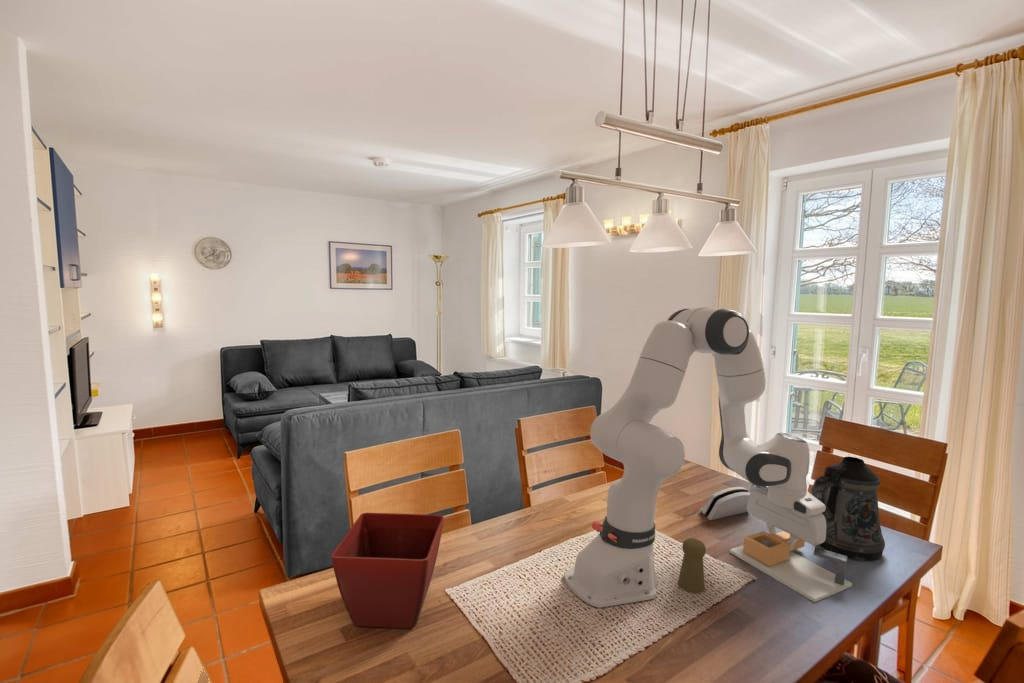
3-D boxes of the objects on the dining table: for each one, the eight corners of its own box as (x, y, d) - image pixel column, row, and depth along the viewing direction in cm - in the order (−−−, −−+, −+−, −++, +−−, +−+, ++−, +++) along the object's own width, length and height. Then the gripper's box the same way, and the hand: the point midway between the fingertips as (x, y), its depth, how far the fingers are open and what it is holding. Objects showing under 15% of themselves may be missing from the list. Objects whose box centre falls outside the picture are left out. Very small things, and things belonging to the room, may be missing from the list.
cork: (672, 580, 119) (675, 537, 118) (691, 575, 121) (695, 533, 120) (690, 595, 113) (693, 550, 112) (710, 589, 116) (714, 545, 115)
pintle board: (814, 602, 112) (816, 581, 112) (729, 552, 133) (731, 534, 132) (851, 586, 119) (854, 566, 118) (765, 540, 139) (766, 524, 139)
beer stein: (891, 549, 136) (902, 462, 134) (868, 573, 124) (879, 478, 122) (825, 525, 149) (833, 445, 146) (797, 545, 137) (806, 458, 134)
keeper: (811, 578, 122) (813, 551, 121) (812, 572, 124) (815, 546, 123) (843, 588, 118) (846, 561, 117) (844, 583, 120) (847, 556, 119)
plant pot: (362, 579, 116) (362, 511, 114) (443, 583, 115) (444, 514, 114) (330, 637, 97) (329, 556, 95) (427, 642, 96) (427, 560, 95)
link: (769, 566, 124) (770, 551, 124) (743, 551, 131) (744, 537, 130) (812, 550, 132) (814, 536, 132) (785, 537, 139) (787, 523, 138)
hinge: (736, 504, 162) (747, 481, 158) (747, 515, 158) (759, 491, 154) (697, 513, 155) (708, 488, 151) (708, 524, 151) (719, 499, 147)
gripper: (743, 482, 138) (739, 529, 140) (817, 513, 120) (811, 566, 122) (759, 478, 141) (754, 524, 142) (832, 508, 123) (826, 561, 124)
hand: (781, 544), depth 132 cm, fingers closed on link, 3 cm apart
